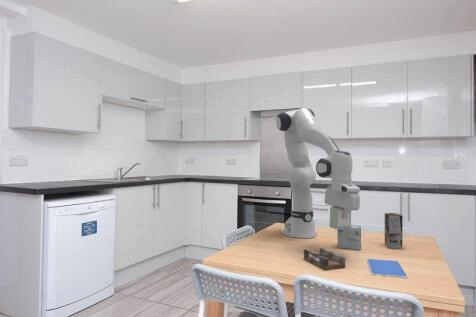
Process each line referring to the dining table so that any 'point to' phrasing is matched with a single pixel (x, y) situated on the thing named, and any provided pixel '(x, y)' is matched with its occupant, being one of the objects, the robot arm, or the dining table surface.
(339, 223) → the plain green carton
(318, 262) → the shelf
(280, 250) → the dining table surface
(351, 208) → the robot arm
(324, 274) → the dining table surface
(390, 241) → the coffee box
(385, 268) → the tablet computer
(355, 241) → the light bulb box
